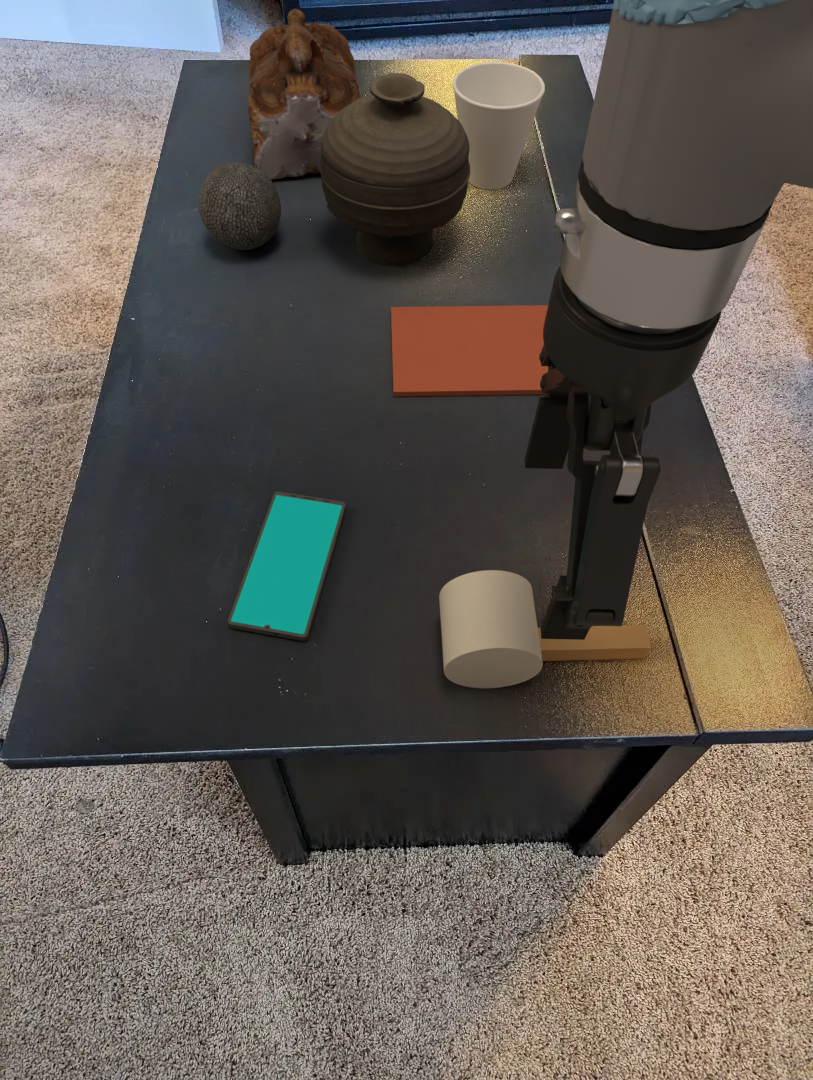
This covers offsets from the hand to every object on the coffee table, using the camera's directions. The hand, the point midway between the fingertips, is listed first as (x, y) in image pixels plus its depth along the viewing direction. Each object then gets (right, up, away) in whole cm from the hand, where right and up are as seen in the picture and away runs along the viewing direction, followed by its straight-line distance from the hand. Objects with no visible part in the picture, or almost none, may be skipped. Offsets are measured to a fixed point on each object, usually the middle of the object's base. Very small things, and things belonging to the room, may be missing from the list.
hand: (551, 543), depth 51 cm
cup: (+2, +52, +56) cm, 76 cm away
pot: (-11, +39, +48) cm, 63 cm away
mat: (-1, +22, +36) cm, 43 cm away
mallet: (+2, -9, +16) cm, 18 cm away
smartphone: (-21, -2, +20) cm, 29 cm away
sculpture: (-24, +58, +60) cm, 87 cm away
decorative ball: (-31, +39, +47) cm, 68 cm away
